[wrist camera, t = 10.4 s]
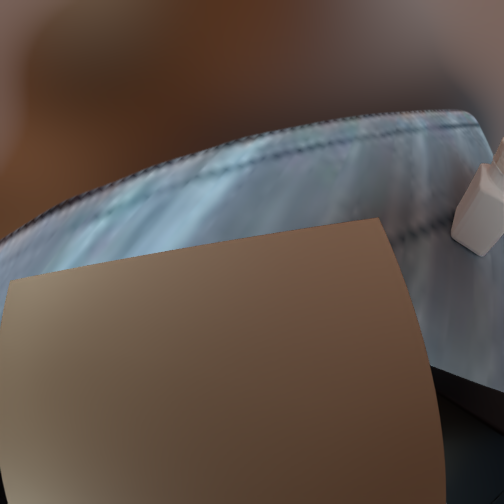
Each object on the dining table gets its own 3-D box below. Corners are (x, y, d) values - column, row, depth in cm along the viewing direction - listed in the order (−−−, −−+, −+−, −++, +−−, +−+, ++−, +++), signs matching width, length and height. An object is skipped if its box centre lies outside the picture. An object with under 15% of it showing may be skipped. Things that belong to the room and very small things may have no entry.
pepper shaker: (446, 238, 18) (499, 149, 10) (454, 208, 20) (496, 124, 12) (482, 261, 17) (543, 183, 9) (487, 229, 18) (535, 153, 10)
